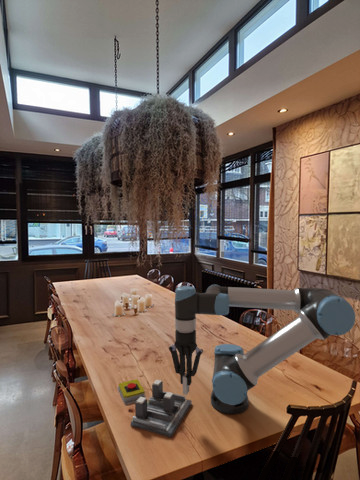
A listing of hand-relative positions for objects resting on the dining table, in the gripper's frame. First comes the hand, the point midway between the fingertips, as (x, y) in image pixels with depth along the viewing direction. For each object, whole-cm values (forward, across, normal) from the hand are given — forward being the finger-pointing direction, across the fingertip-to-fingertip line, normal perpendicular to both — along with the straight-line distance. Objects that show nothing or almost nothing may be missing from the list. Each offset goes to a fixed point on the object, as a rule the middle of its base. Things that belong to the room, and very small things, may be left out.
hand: (186, 392), depth 105 cm
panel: (+11, +10, 0) cm, 14 cm away
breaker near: (+9, +15, +6) cm, 19 cm away
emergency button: (+12, +29, -8) cm, 32 cm away
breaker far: (+9, +15, -7) cm, 19 cm away
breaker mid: (+9, +7, 0) cm, 11 cm away
